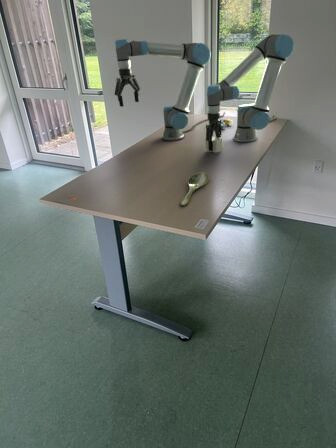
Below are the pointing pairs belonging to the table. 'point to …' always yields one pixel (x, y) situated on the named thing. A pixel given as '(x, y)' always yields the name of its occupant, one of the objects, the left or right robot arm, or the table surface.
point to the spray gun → (227, 122)
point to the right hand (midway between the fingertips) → (213, 148)
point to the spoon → (195, 184)
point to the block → (215, 144)
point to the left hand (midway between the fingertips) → (129, 104)
